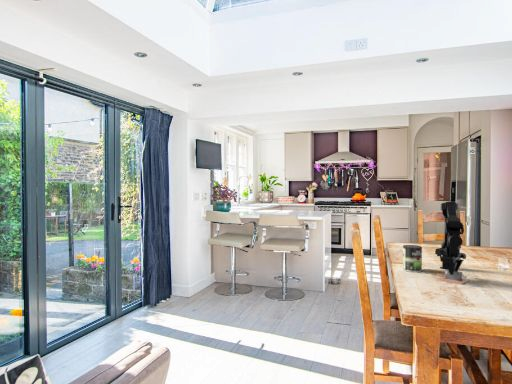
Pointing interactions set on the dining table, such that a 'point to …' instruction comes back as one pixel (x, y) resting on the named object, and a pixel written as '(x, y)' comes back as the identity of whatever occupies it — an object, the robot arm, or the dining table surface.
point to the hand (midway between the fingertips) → (453, 274)
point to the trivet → (453, 280)
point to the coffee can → (412, 258)
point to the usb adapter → (455, 275)
